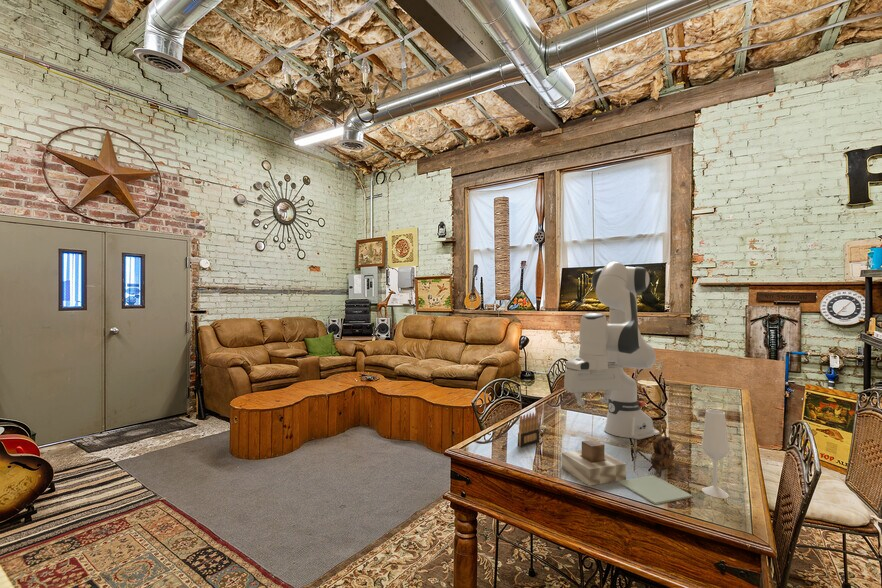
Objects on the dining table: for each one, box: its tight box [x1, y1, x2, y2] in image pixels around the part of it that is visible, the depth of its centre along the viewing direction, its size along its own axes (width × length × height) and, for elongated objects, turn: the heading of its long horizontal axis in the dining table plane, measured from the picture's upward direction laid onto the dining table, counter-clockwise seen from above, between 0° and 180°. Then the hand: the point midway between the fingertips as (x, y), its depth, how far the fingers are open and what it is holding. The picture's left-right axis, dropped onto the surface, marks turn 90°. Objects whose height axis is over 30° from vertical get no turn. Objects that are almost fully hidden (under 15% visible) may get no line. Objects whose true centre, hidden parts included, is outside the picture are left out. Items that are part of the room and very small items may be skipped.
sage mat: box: [617, 474, 693, 505], centre depth 121 cm, size 14×14×1 cm
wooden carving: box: [650, 435, 676, 471], centre depth 138 cm, size 16×5×10 cm, turn 137°
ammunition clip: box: [517, 411, 540, 448], centre depth 159 cm, size 11×2×12 cm, turn 126°
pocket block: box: [561, 449, 627, 487], centre depth 132 cm, size 14×14×5 cm
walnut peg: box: [581, 439, 606, 463], centre depth 132 cm, size 5×5×10 cm
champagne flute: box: [701, 409, 730, 499], centre depth 120 cm, size 7×7×24 cm
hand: (593, 404), depth 133 cm, fingers open, 8 cm apart
